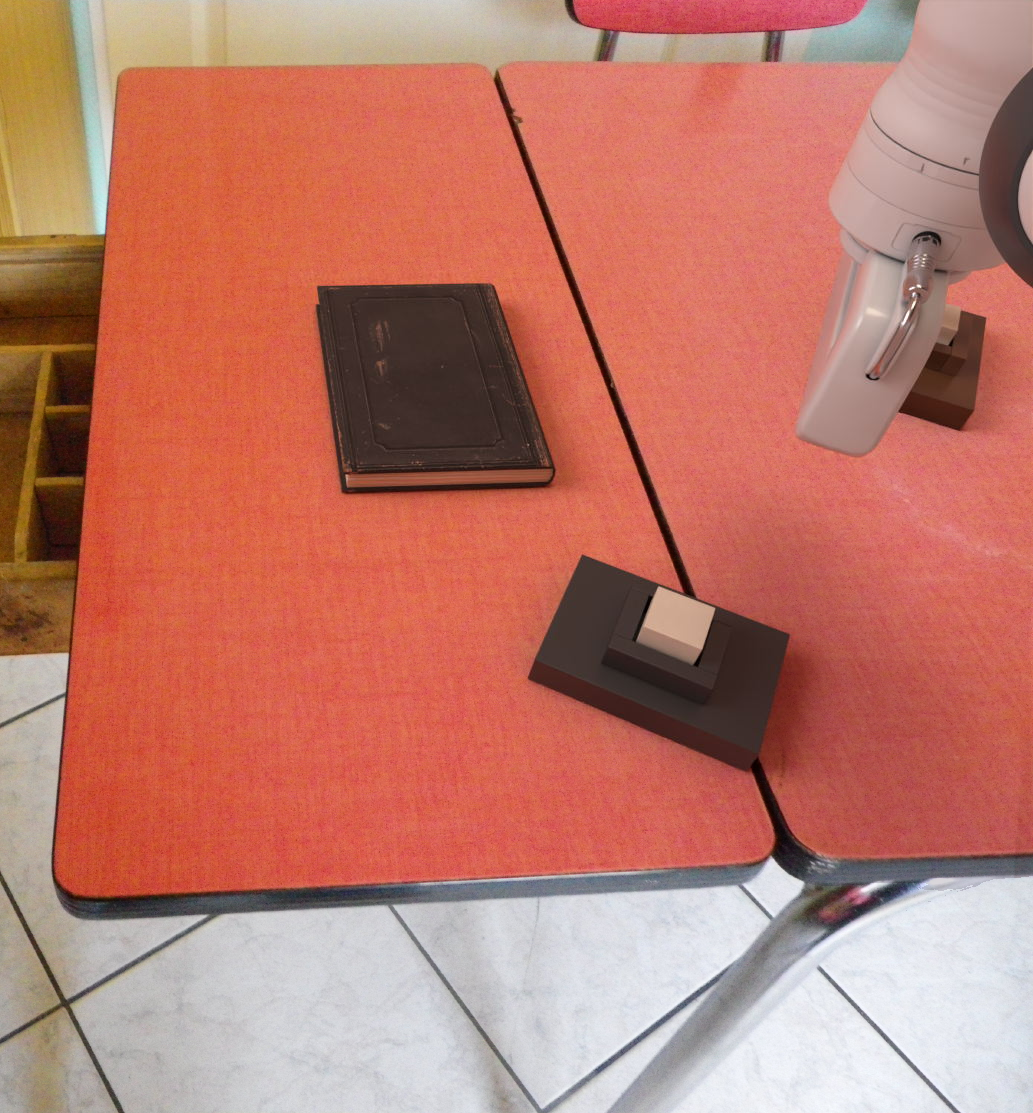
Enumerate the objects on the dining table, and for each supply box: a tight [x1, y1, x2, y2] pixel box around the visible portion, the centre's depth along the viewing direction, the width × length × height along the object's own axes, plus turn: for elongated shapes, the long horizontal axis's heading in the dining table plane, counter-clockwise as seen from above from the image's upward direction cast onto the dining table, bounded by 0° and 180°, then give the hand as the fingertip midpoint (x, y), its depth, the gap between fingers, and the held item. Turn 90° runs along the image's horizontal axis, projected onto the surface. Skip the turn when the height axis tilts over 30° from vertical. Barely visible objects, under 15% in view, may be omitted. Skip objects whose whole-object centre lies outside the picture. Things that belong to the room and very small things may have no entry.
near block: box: [527, 554, 791, 772], centre depth 65 cm, size 14×10×4 cm
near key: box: [636, 587, 715, 665], centre depth 63 cm, size 4×4×2 cm
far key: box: [936, 302, 962, 346], centre depth 85 cm, size 4×4×2 cm
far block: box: [898, 309, 987, 431], centre depth 87 cm, size 14×10×4 cm
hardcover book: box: [315, 282, 557, 494], centre depth 83 cm, size 16×23×2 cm
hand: (815, 409), depth 59 cm, fingers closed
